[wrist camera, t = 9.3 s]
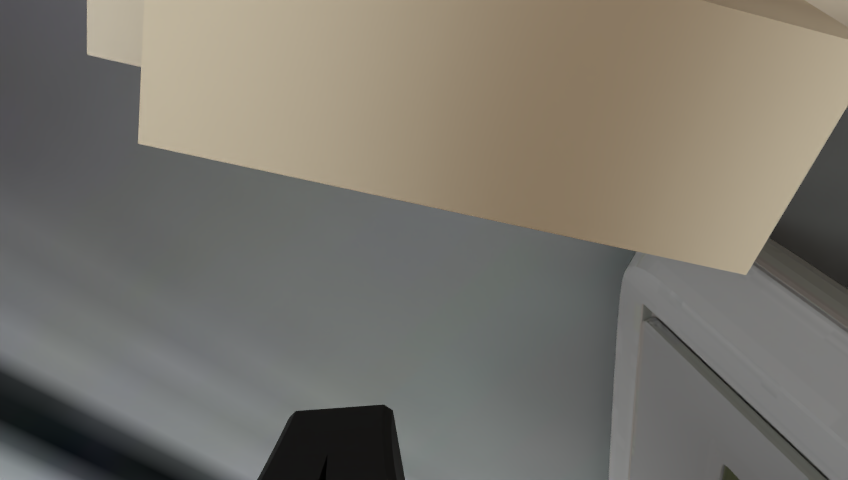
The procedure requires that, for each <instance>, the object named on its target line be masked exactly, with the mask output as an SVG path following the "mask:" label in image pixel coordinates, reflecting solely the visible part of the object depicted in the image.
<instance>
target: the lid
mask: <svg viewBox="0 0 848 480" xmlns="http://www.w3.org/2000/svg"><path fill="white" fill-rule="evenodd" d="M87 55H90V56H95V57H99V58H103V59H108V60H112V61H117V62H121V63H125V64H130V65H134V66H138V67H141V85H140V108H139V131H138V144H142V145H146V146H151V147H156V148H160V149H165V150H170V151H174V152H179V153H183V154H188V155H193V156H197V157H202V158H207V159H211V160H216V161H220V162H225V163H230V164H234V165H239V166H244V167H248V168H253V169H257V170H262V171H267V172H271V173H276V174H281V175H285V176H290V177H294V178H299V179H304V180H308V181H313V182H318V183H322V184H327V185H331V186H336V187H341V188H345V189H350V190H355V191H359V192H364V193H368V194H373V195H378V196H382V197H387V198H392V199H396V200H401V201H405V202H410V203H415V204H419V205H424V206H429V207H433V208H438V209H442V210H447V211H452V212H456V213H461V214H466V215H470V216H475V217H479V218H484V219H489V220H493V221H498V222H503V223H507V224H512V225H516V226H521V227H526V228H530V229H535V230H540V231H544V232H549V233H553V234H558V235H563V236H567V237H572V238H577V239H581V240H586V241H590V242H595V243H600V244H604V245H609V246H614V247H618V248H623V249H627V250H632V251H637V252H641V253H646V254H651V255H655V256H660V257H664V258H669V259H674V260H678V261H683V262H688V263H692V264H697V265H701V266H706V267H711V268H715V269H720V270H725V271H729V272H734V273H739V274H743V275H747V273H748V271H749V270H750V268H751V266H752V265H753V263H754V261H755V260H756V258H757V256H758V255H759V253H760V251H761V250H762V248H763V246H764V245H765V243H766V241H767V239H768V238H769V236H770V234H771V233H772V231H773V229H774V228H775V226H776V224H777V223H778V221H779V219H780V218H781V216H782V214H783V213H784V211H785V209H786V208H787V206H788V204H789V203H790V201H791V199H792V198H793V196H794V194H795V193H796V191H797V189H798V188H799V186H800V184H801V183H802V181H803V179H804V178H805V176H806V174H807V173H808V171H809V169H810V168H811V166H812V164H813V163H814V161H815V159H816V158H817V156H818V154H819V153H820V151H821V149H822V148H823V146H824V144H825V143H826V141H827V139H828V138H829V136H830V134H831V133H832V131H833V129H834V128H835V126H836V124H837V123H838V121H839V119H840V118H841V116H842V114H843V113H844V111H845V109H846V108H847V106H848V0H87Z"/></svg>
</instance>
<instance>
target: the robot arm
mask: <svg viewBox="0 0 848 480" xmlns="http://www.w3.org/2000/svg"><path fill="white" fill-rule="evenodd" d="M257 480H405V477H404V472H403V466H402V460H401V455H400V449H399V443H398V437H397V432H396V426H395V420H394V415H393V410H391V409H390V408H388V407H387V406H385V405H373V406H359V407H346V408H332V409H319V410H305V411H296V412H295V413H294V414H293V415H292V416H291V417H290V418H289V419H288V421H287V423H286V425H285V428H284V430H283V432H282V434H281V436H280V438H279V440H278V442H277V443H276V445H275V447H274V449H273V451H272V453H271V455H270V457H269V459H268V461H267V463H266V465H265V466H264V468H263V470H262V472H261V474H260V476H259V477H258V479H257Z"/></svg>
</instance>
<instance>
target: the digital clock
mask: <svg viewBox="0 0 848 480" xmlns="http://www.w3.org/2000/svg"><path fill="white" fill-rule="evenodd" d="M608 480H848V289H846V288H845V287H843V286H842V285H840V284H839V283H837V282H836V281H834V280H833V279H831V278H830V277H828V276H827V275H825V274H824V273H822V272H821V271H819V270H818V269H816V268H815V267H813V266H812V265H810V264H809V263H807V262H806V261H804V260H803V259H801V258H800V257H798V256H797V255H795V254H794V253H792V252H791V251H789V250H788V249H786V248H784V247H783V246H781V245H780V244H778V243H777V242H775V241H773V240H772V239H770V238H768V239H767V241H766V243H765V245H764V246H763V248H762V250H761V251H760V253H759V255H758V256H757V258H756V260H755V261H754V263H753V265H752V266H751V268H750V270H749V271H748V273H747V275H743V274H739V273H734V272H729V271H725V270H720V269H715V268H711V267H706V266H701V265H697V264H692V263H688V262H683V261H678V260H674V259H669V258H664V257H660V256H655V255H651V254H646V253H641V252H637V251H636V253H635V255H634V256H633V258H632V260H631V262H630V263H629V265H628V267H627V269H626V270H625V272H624V276H623V279H622V284H621V291H620V299H619V312H618V325H617V338H616V354H615V370H614V387H613V405H612V423H611V442H610V460H609V478H608Z"/></svg>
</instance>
